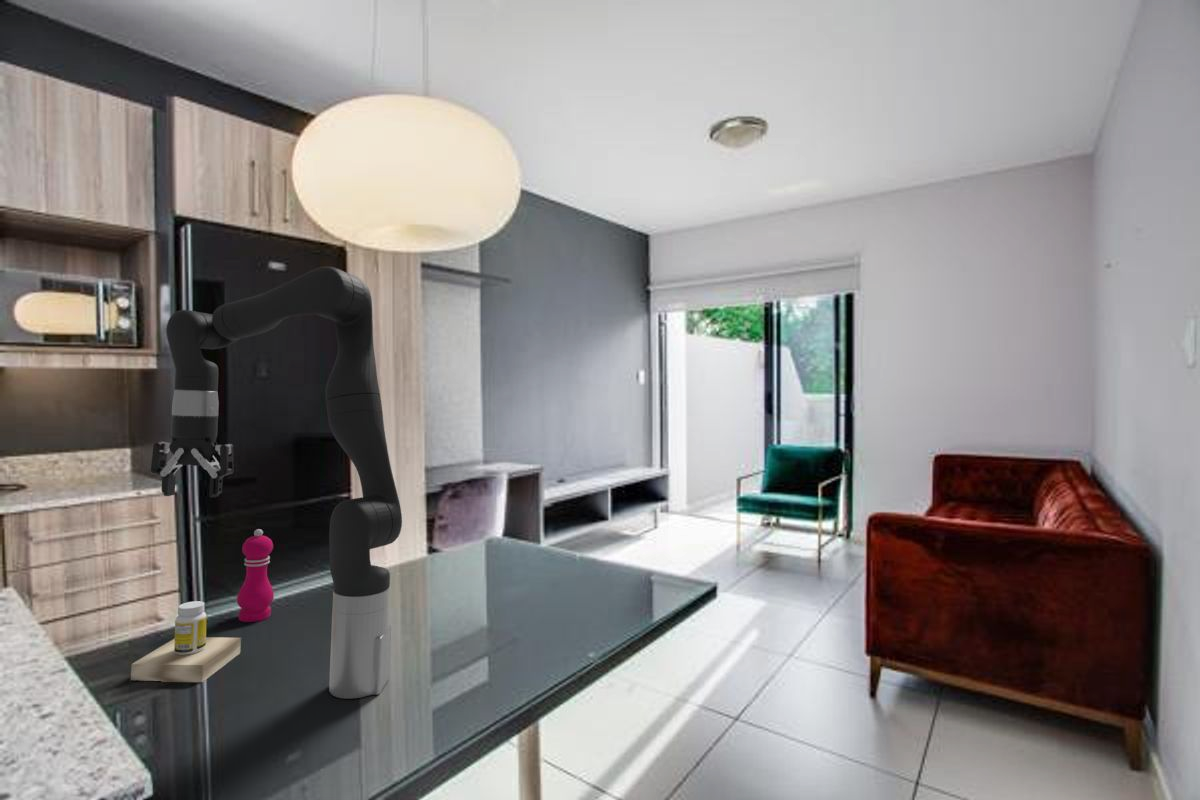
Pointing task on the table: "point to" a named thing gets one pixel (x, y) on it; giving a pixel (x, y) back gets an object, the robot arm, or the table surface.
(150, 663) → the birch block
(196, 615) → the supplement bottle
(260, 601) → the pepper mill
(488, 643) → the table surface
